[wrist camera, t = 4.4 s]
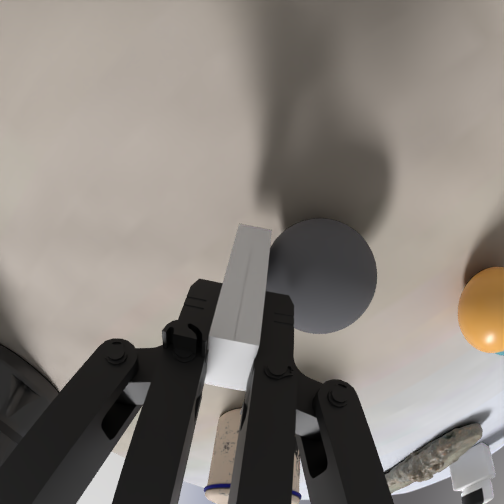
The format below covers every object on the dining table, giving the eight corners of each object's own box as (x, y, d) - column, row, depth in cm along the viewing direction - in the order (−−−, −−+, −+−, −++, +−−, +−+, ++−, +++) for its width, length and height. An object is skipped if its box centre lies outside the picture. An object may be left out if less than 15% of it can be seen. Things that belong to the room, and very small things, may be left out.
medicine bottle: (457, 461, 41) (465, 512, 31) (447, 458, 39) (455, 514, 29) (489, 445, 38) (500, 497, 28) (482, 441, 36) (493, 498, 26)
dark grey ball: (241, 284, 18) (271, 364, 14) (261, 194, 15) (308, 267, 11) (326, 280, 20) (368, 347, 15) (356, 202, 17) (418, 263, 12)
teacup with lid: (287, 443, 33) (282, 531, 23) (211, 431, 32) (195, 521, 23) (327, 397, 26) (330, 518, 16) (228, 381, 26) (207, 510, 16)
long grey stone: (342, 485, 51) (383, 481, 51) (344, 507, 46) (385, 501, 47) (445, 424, 29) (493, 413, 30) (454, 460, 25) (502, 444, 26)
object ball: (433, 307, 19) (458, 370, 15) (471, 241, 16) (513, 301, 12) (483, 315, 19) (509, 370, 15) (520, 258, 16) (558, 310, 12)
